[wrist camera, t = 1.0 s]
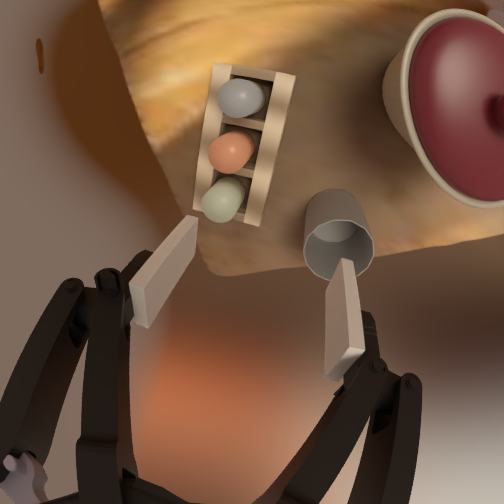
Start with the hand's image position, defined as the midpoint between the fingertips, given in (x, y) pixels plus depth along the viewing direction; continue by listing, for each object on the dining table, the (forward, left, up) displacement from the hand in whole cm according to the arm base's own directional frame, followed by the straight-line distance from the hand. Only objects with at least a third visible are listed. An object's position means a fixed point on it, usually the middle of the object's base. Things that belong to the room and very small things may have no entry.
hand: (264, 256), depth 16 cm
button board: (-1, -7, -23) cm, 24 cm away
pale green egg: (+6, -7, -20) cm, 22 cm away
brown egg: (-1, -7, -20) cm, 22 cm away
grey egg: (-7, -7, -20) cm, 23 cm away
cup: (+6, +8, -24) cm, 26 cm away
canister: (-15, +15, -24) cm, 32 cm away
